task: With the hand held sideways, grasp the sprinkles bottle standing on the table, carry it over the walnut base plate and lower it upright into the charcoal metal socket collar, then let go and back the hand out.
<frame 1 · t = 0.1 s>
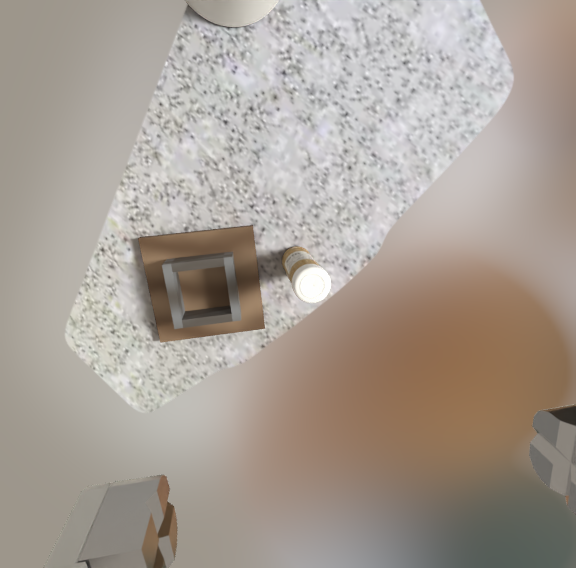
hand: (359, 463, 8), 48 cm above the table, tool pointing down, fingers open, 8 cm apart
sprinkles bottle: (296, 259, 56), on the table
socket base: (205, 283, 56), on the table
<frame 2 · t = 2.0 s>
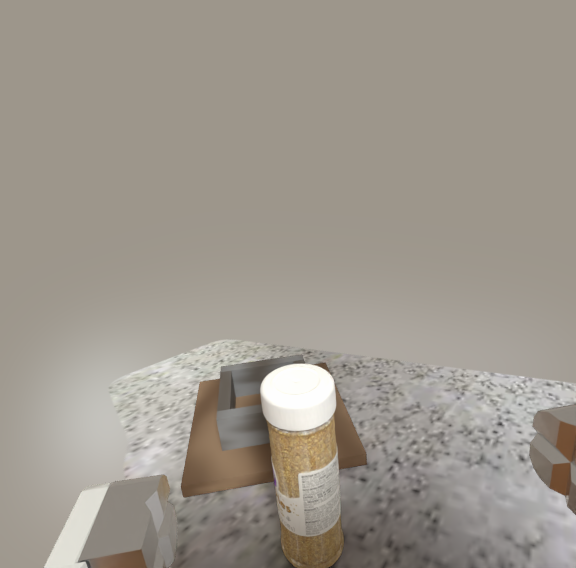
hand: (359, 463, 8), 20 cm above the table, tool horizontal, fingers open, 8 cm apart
sprinkles bottle: (313, 544, 26), on the table
socket base: (269, 420, 39), on the table
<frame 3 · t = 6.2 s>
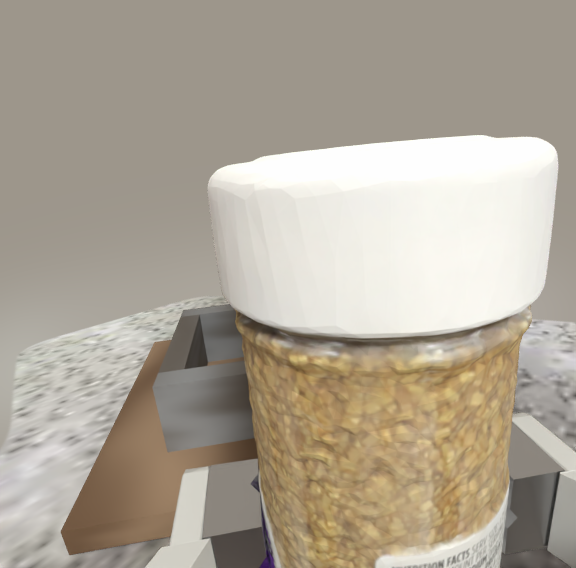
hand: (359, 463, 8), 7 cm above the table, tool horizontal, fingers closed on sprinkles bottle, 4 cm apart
socket base: (264, 399, 22), on the table
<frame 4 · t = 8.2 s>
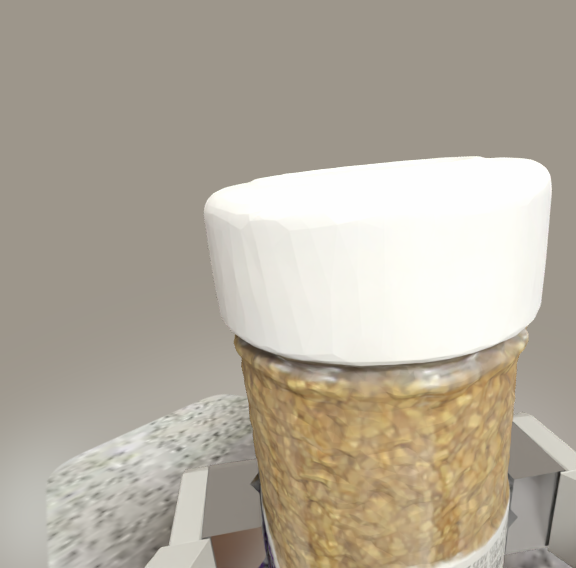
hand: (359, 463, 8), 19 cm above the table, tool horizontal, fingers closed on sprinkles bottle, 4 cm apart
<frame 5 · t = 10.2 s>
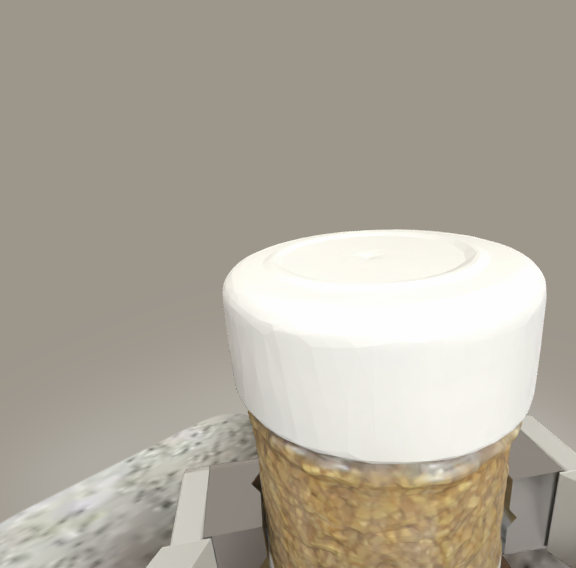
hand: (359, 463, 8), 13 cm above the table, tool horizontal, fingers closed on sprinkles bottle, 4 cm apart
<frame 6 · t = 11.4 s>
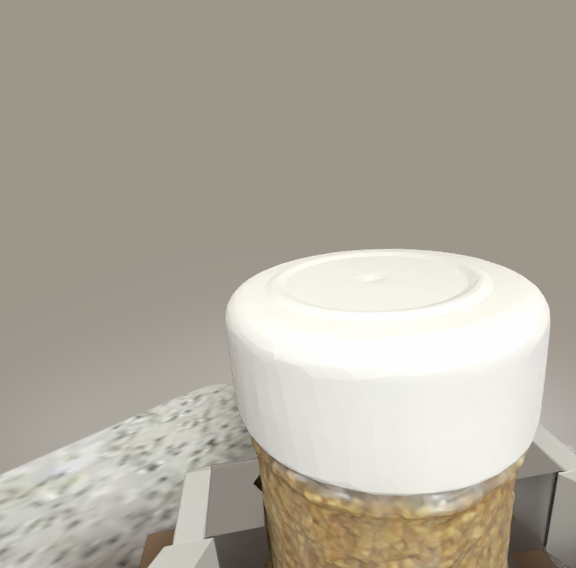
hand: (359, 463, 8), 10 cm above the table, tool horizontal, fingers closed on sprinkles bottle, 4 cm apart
when the fingers open (10 cm above the table, at t = 11.5 s): sprinkles bottle stays where it is, resting on socket base.
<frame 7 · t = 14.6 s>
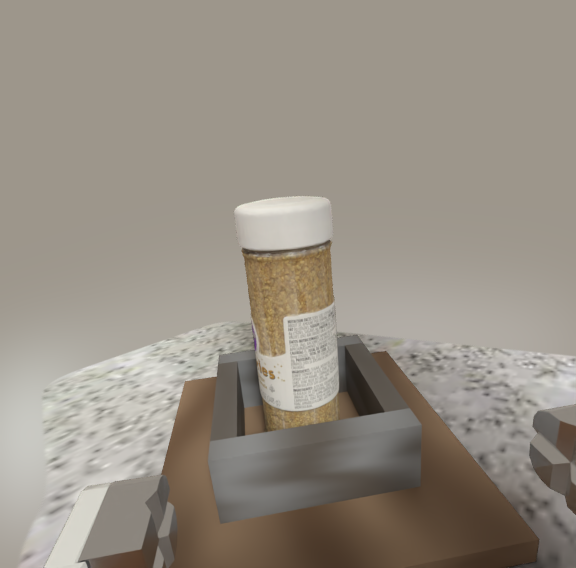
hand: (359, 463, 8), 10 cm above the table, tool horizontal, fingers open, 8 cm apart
sprinkles bottle: (305, 440, 21), point 1 cm above the table, touching socket base
socket base: (307, 451, 22), on the table
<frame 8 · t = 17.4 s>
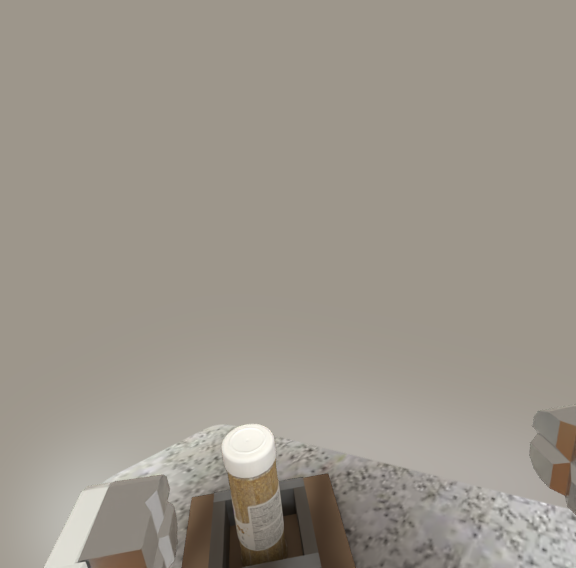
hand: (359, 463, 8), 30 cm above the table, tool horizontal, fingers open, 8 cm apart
sprinkles bottle: (265, 555, 35), point 1 cm above the table, touching socket base
socket base: (267, 561, 36), on the table
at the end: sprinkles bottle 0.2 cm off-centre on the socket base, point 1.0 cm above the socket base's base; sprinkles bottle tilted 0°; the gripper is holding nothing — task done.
